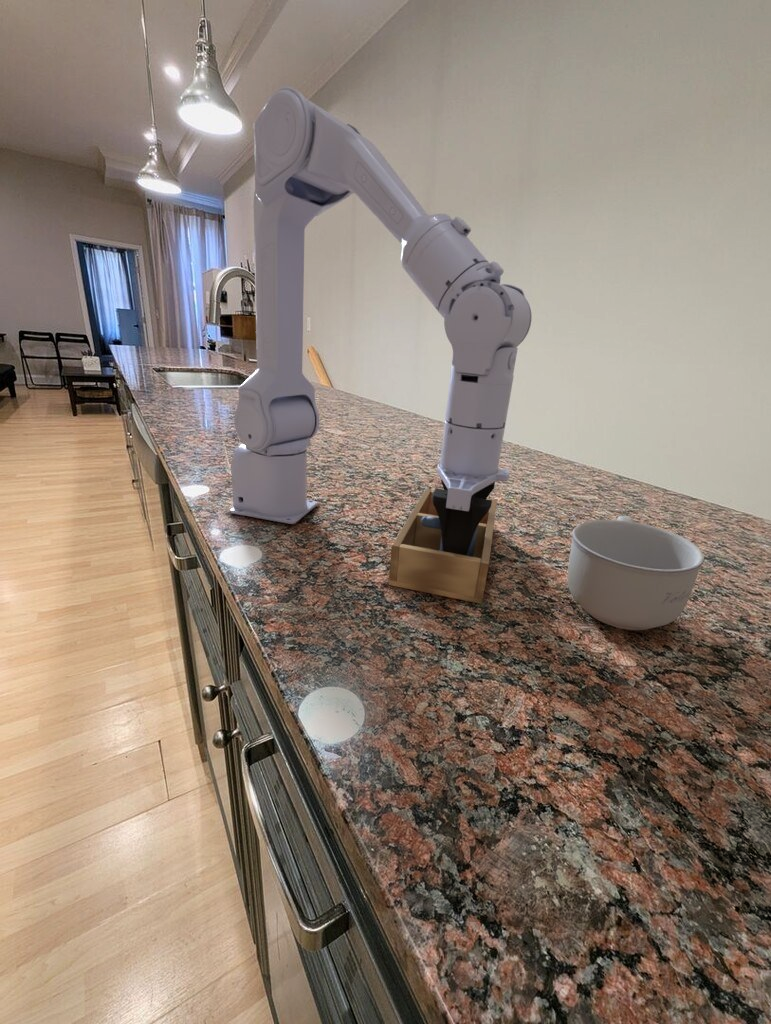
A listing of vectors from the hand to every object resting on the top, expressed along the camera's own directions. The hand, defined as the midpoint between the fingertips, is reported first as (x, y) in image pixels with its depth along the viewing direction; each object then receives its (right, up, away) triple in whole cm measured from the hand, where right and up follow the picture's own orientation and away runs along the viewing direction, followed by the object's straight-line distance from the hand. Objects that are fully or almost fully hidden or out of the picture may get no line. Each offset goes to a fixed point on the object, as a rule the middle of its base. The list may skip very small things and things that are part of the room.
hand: (456, 549), depth 48 cm
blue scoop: (-1, -1, +1) cm, 2 cm away
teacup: (+16, -6, -2) cm, 17 cm away
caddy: (0, -1, +5) cm, 6 cm away
